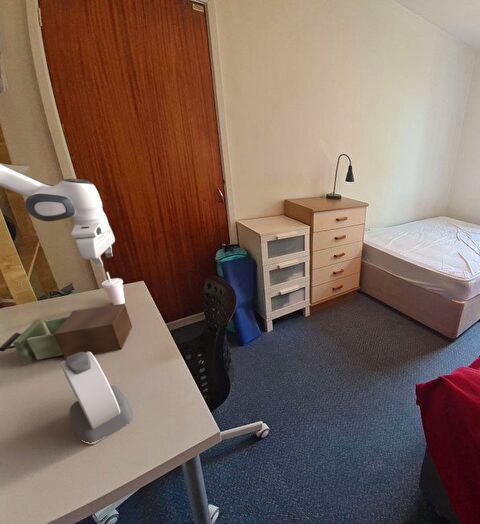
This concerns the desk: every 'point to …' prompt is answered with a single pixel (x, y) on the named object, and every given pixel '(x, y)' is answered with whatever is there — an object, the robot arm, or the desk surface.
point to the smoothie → (114, 290)
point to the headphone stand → (94, 399)
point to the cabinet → (94, 330)
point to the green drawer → (36, 341)
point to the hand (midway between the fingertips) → (105, 261)
